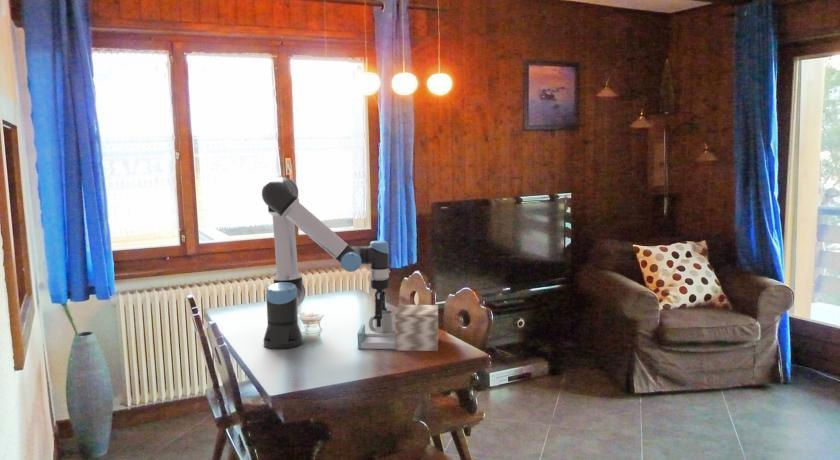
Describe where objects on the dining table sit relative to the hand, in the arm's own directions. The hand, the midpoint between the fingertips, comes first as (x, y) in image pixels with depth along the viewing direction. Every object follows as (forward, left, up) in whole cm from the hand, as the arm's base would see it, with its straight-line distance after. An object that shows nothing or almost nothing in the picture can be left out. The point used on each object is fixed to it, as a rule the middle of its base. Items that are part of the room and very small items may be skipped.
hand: (380, 330), depth 269 cm
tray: (+3, -15, -1) cm, 15 cm away
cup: (0, 0, -2) cm, 2 cm away
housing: (+16, -15, -1) cm, 22 cm away
